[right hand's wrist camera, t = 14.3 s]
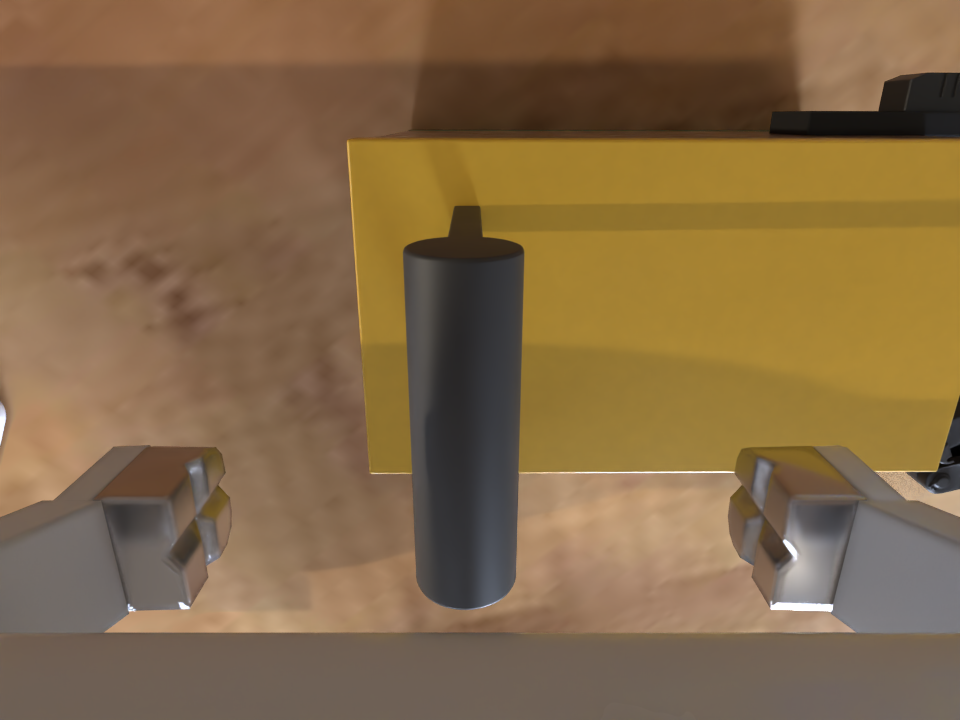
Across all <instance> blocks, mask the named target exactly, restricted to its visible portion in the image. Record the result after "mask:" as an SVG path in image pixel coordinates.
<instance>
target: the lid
mask: <svg viewBox="0 0 960 720" xmlns="http://www.w3.org/2000/svg"><path fill="white" fill-rule="evenodd" d="M347 153H348V168H349V182H350V196H351V211H352V225H353V240H354V254H355V269H356V283H357V298H358V312H359V327H360V341H361V356H362V370H363V385H364V399H365V414H366V428H367V443H368V457H369V471H370V473H371V474H412V484H413V508H414V532H415V556H416V578H417V583H418V585H419V587H420V589H421V590H422V592H423V593H424V594H425V596H426V597H428V598H429V599H430V600H432V601H433V602H435V603H437V604H439V605H441V606H444V607H447V608H451V609H458V610H473V609H479V608H483V607H487V606H490V605H492V604H494V603H496V602H498V601H499V600H501V599H502V598H504V597H505V596H506V595H507V594H508V593H509V591H510V590H511V588H512V587H513V585H514V582H515V578H516V551H517V514H518V477H519V473H715V472H735V467H736V461H737V457H738V455H739V453H740V451H741V449H743V448H748V447H783V446H831V445H840V446H843V447H847V448H848V449H849V450H851V451H852V452H853V453H854V454H855V455H856V456H857V457H858V458H860V459H861V460H862V461H863V462H864V463H865V464H866V465H867V466H869V467H870V468H871V469H872V470H873V471H874V472H936V471H937V470H938V467H939V463H940V460H941V457H942V453H943V450H944V446H945V443H946V440H947V436H948V433H949V430H950V426H951V423H952V419H953V416H954V413H955V409H956V406H957V403H958V399H959V396H960V139H847V138H353V139H349V140H347Z"/></svg>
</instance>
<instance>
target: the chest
mask: <svg viewBox="0 0 960 720" xmlns="http://www.w3.org/2000/svg"><path fill="white" fill-rule="evenodd" d="M769 132H770V131H764V130H409V131H405V132H400V133H395V134H391V135H386V136H381V137H376V138H847V139H960V137H943V136H806V135H787V134H769Z"/></svg>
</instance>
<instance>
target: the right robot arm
mask: <svg viewBox="0 0 960 720" xmlns="http://www.w3.org/2000/svg"><path fill="white" fill-rule="evenodd" d="M5 422H6V411H5V408H4V406H3V404H2V402H1V401H0V444H1V440H2V435H3V431H4V427H5ZM225 473H226V472H225V467H224V463H223V458H222V454H221V453H220V451H219V450H218V449H217V448H216V447H179V446H150V445H141V446H118V447H113V448H112V449H111V450H110V451H109V452H107V453H106V454H105V455H104V456H103V457H102V458H101V459H100V460H98V461H97V462H96V463H95V464H94V465H93V466H92V467H91V468H89V469H88V470H87V471H86V472H85V473H84V474H83V475H81V476H80V477H79V478H78V479H77V480H76V481H75V482H74V483H72V484H71V485H70V486H69V487H68V488H67V489H66V490H65V491H63V492H62V493H61V494H60V495H59V496H58V497H57V498H56V499H54V500H53V501H40V502H38V503H35V504H33V505H30V506H28V507H25V508H23V509H20V510H17V511H15V512H12V513H10V514H7V515H5V516H2V517H0V720H960V517H958V516H955V515H953V514H950V513H948V512H945V511H942V510H940V509H937V508H935V507H932V506H930V505H927V504H925V503H922V502H920V501H907V500H906V499H905V498H903V497H902V496H901V495H900V494H899V493H898V492H897V491H896V490H894V489H893V488H892V487H891V486H890V485H889V484H888V483H887V482H885V481H884V480H883V479H882V478H881V477H880V476H879V475H878V474H876V473H875V472H874V471H873V470H872V469H871V468H870V467H869V466H867V465H866V464H865V463H864V462H863V461H862V460H861V459H860V458H858V457H857V456H856V455H855V454H854V453H853V452H852V451H851V450H849V449H848V448H847V447H843V446H840V445H831V446H783V447H748V448H743V449H741V451H740V453H739V455H738V457H737V461H736V467H735V472H734V473H735V474H736V476H737V478H738V479H739V481H740V482H741V484H742V486H741V487H740V488H739V489H738V490H737V491H736V492H735V493H734V494H733V495H732V496H731V497H730V504H729V512H728V522H729V532H730V536H731V539H732V542H733V546H734V548H735V549H736V551H737V553H738V555H739V556H740V558H742V559H744V560H745V561H747V562H748V563H750V564H752V565H753V566H754V567H753V573H752V579H753V580H754V582H755V583H756V585H757V587H758V588H759V590H760V592H761V593H762V595H763V597H764V598H765V600H766V602H767V603H768V605H769V607H770V608H771V609H785V610H822V611H831V614H832V615H834V616H835V617H836V618H838V619H839V620H841V621H842V622H843V623H845V624H846V625H847V626H849V627H850V628H851V629H853V630H854V631H855V632H857V633H103V632H105V631H106V630H107V629H109V628H110V627H112V626H113V625H114V624H116V623H117V622H118V621H120V620H121V619H122V618H124V617H125V616H126V615H128V614H129V611H138V610H174V609H190V607H191V605H192V604H193V602H194V600H195V599H196V597H197V595H198V594H199V592H200V590H201V589H202V587H203V585H204V584H205V582H206V580H207V578H208V573H207V567H206V566H207V565H208V564H210V563H212V562H213V561H215V560H216V559H218V558H220V556H221V555H222V553H223V551H224V549H225V547H226V546H227V543H228V539H229V535H230V531H231V527H232V510H231V503H230V497H229V496H228V495H227V494H226V493H225V492H224V491H223V490H222V489H221V488H220V487H219V486H218V484H219V482H220V481H221V479H222V478H223V476H224V474H225Z"/></svg>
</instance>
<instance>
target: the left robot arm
mask: <svg viewBox="0 0 960 720" xmlns="http://www.w3.org/2000/svg"><path fill="white" fill-rule="evenodd" d="M769 134H787V135H806V136H943V137H960V73H920V74H910V75H900V76H898V77H895V78H893V79H890V80H888V81H885V82H884V87H883V92H882V97H881V101H880V106H879V111H794V112H773V113H772V119H771V125H770V132H769ZM906 473H907V474H908V475H910V476H911V477H912V478H913V479H914V480H916V481H917V482H918V483H919V484H921V485H922V486H923V487H924V488H926V489H927V490H928V491H929V492H931V493H935V494H938V493H944V492H949V491H953V490H957V489H960V396H959V399H958V403H957V406H956V409H955V413H954V416H953V419H952V423H951V426H950V430H949V433H948V436H947V440H946V443H945V446H944V450H943V453H942V457H941V460H940V463H939V467H938V470H937V471H936V472H906Z"/></svg>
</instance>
